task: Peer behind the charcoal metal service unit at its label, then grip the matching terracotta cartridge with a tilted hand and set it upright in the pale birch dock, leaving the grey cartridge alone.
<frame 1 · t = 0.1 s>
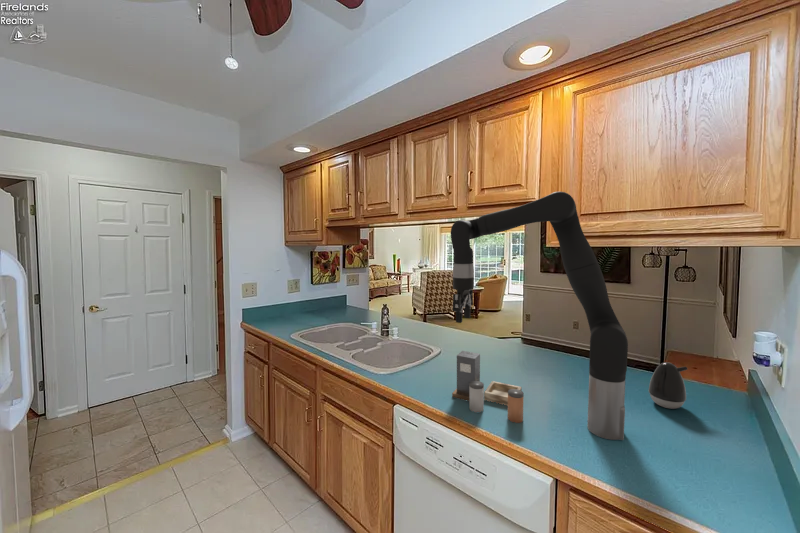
hand: (463, 320, 121), 29 cm above the counter, tool pointing down, fingers open, 8 cm apart
service unit: (468, 394, 125), on the counter
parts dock: (503, 397, 122), on the counter
grey cartridge: (476, 408, 114), on the counter
terracotta cartridge: (515, 418, 108), on the counter
pump dispenser: (666, 405, 115), on the counter
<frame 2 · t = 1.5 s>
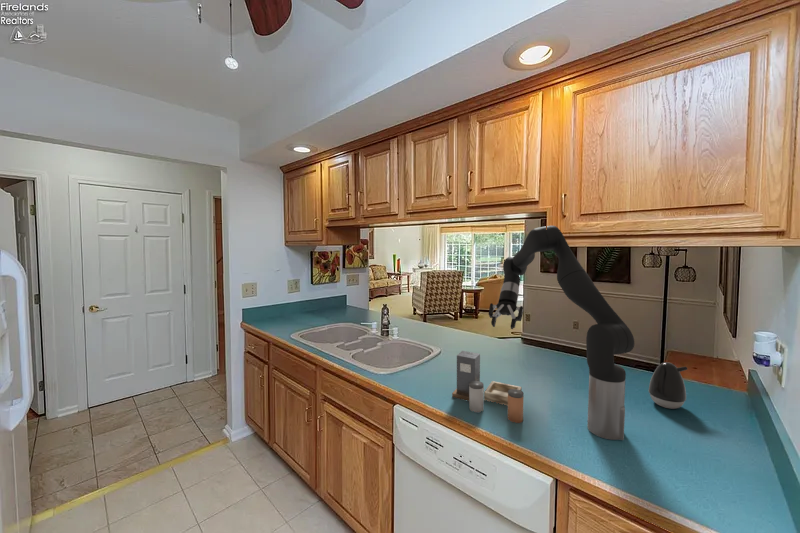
hand: (502, 326, 136), 23 cm above the counter, tool tilted 45°, fingers open, 7 cm apart
nothing on the counter moved.
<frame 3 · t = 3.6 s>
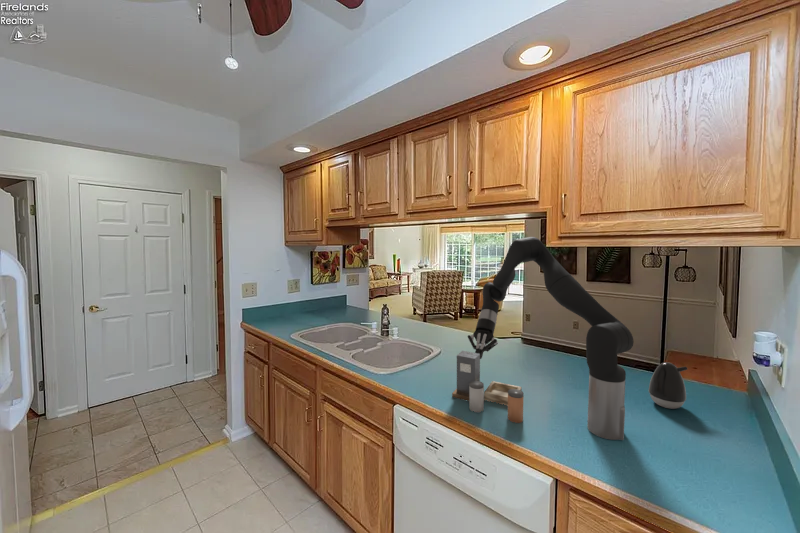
hand: (477, 358, 133), 11 cm above the counter, tool tilted 45°, fingers closed
nothing on the counter moved.
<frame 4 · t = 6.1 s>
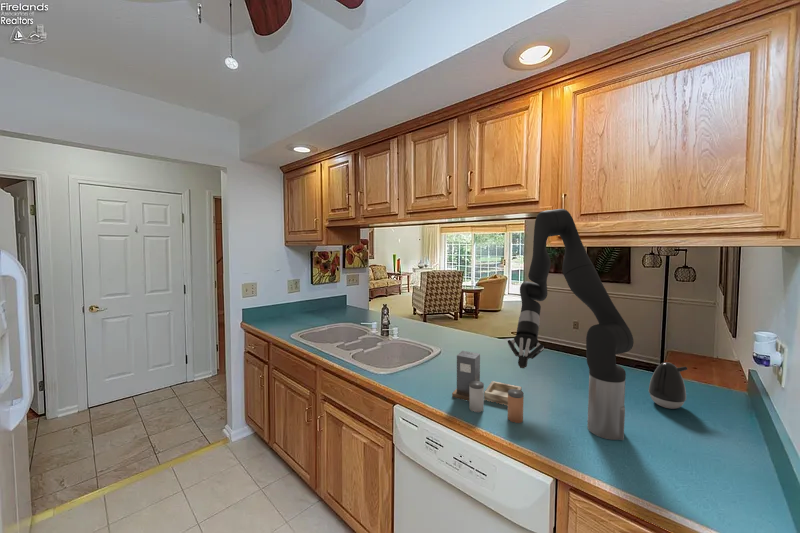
hand: (522, 367, 116), 14 cm above the counter, tool tilted 45°, fingers closed
nothing on the counter moved.
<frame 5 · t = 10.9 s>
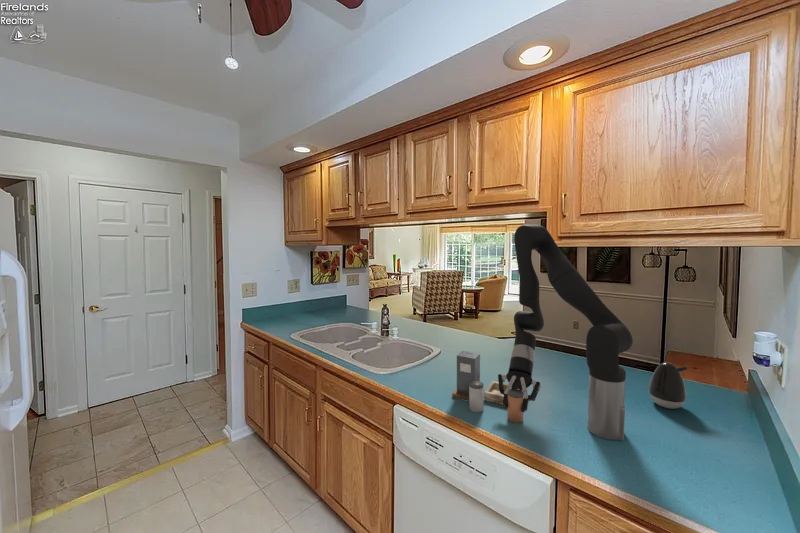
hand: (514, 409, 106), 4 cm above the counter, tool tilted 45°, fingers closed on terracotta cartridge, 4 cm apart
terracotta cartridge: (515, 418, 108), on the counter, touching gripper
everything else where it was.
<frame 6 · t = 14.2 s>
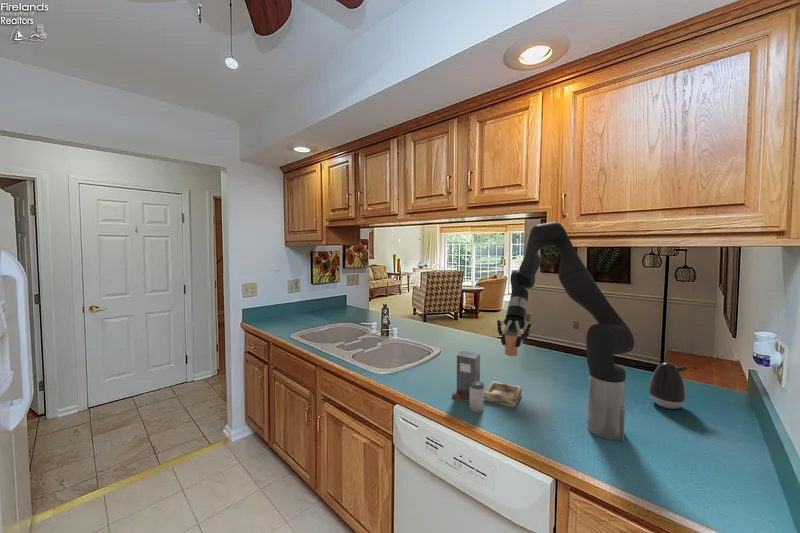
hand: (510, 345, 131), 17 cm above the counter, tool tilted 45°, fingers closed on terracotta cartridge, 4 cm apart
terracotta cartridge: (511, 354, 133), point 12 cm above the counter, touching gripper
everything else where it was.
when the fingers open (7 cm above the counter, at t = 17.7 s): terracotta cartridge drops 1 cm, resting on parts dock.
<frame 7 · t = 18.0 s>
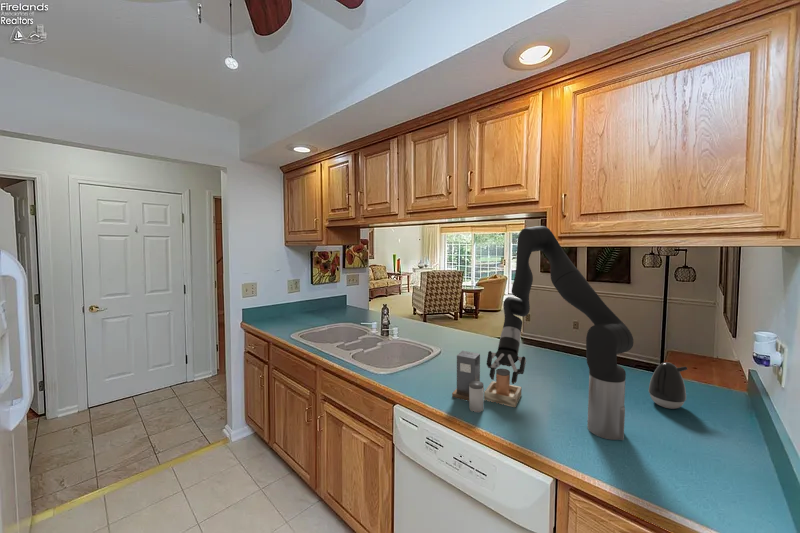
hand: (502, 380, 120), 7 cm above the counter, tool tilted 45°, fingers open, 7 cm apart
terracotta cartridge: (502, 394, 122), point 1 cm above the counter, touching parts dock
everything else where it was.
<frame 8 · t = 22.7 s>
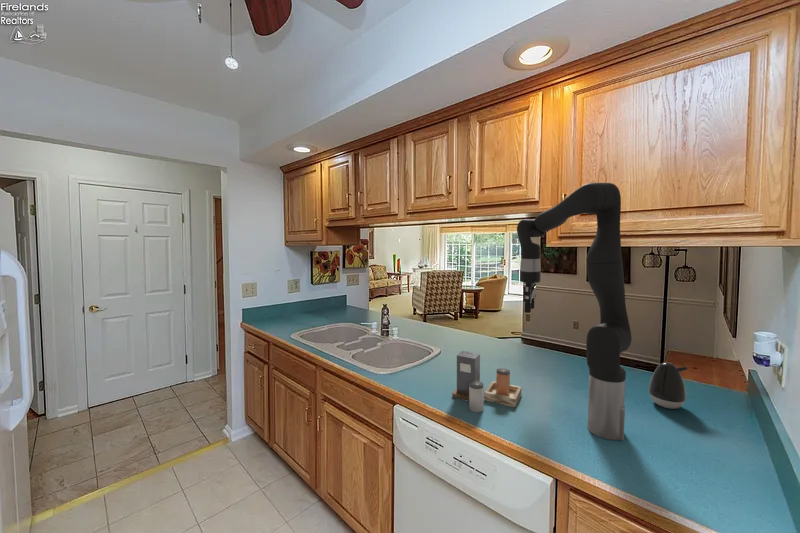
hand: (529, 310, 132), 30 cm above the counter, tool pointing down, fingers open, 8 cm apart
nothing on the counter moved.
at the end: terracotta cartridge 0.1 cm off-centre on the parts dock, point 1.1 cm above the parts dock's base; terracotta cartridge tilted 2°; grey cartridge moved 0.0 cm from its start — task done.
